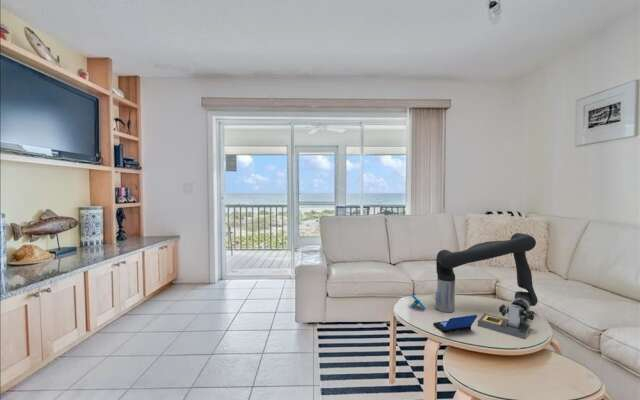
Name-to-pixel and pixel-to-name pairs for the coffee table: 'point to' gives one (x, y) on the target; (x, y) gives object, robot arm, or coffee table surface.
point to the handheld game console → (456, 324)
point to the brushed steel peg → (514, 316)
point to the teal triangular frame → (416, 302)
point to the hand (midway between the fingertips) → (513, 316)
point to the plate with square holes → (503, 326)
